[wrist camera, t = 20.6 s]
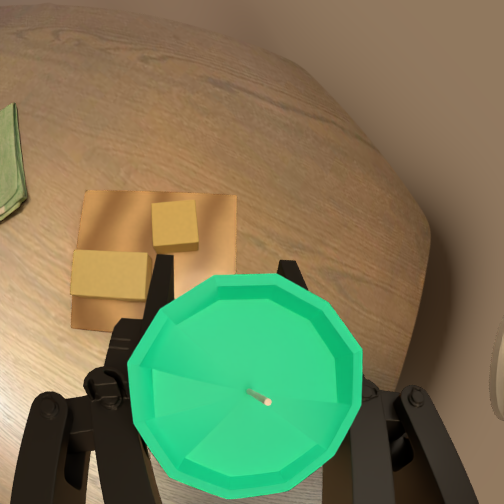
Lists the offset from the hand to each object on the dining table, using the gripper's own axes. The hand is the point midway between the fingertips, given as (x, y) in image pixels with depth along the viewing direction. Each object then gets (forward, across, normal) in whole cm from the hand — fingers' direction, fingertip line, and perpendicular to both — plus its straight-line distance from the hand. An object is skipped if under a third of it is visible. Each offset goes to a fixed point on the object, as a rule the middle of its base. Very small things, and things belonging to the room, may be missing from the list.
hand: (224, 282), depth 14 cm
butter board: (+14, -6, -9) cm, 17 cm away
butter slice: (+15, -4, -6) cm, 16 cm away
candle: (-1, 0, -6) cm, 6 cm away
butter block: (+12, -9, -9) cm, 17 cm away
